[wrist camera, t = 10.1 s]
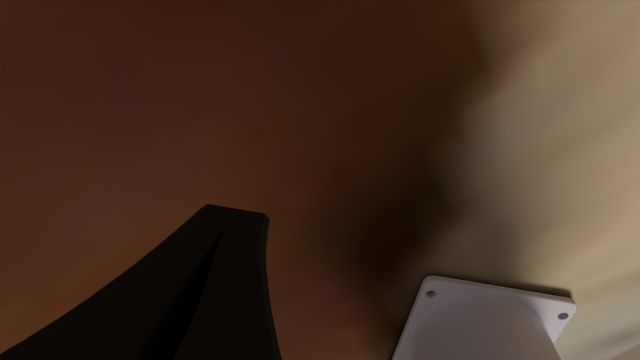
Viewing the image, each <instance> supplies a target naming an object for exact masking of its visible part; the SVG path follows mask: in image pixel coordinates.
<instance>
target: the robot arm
mask: <svg viewBox="0 0 640 360" xmlns="http://www.w3.org/2000/svg"><path fill="white" fill-rule="evenodd" d="M269 221H270V219H269V218H268V217H267V215H266V214H264V213H258V212H252V211H246V210H240V209H234V208H228V207H222V206H216V205H210V204H207V205H205V206H203V207H202V208H201V209H200V210H198V211H197V212H196V213H195V214H194V215H193V216H192V217H191V218H189V219H188V220H187V221H186V222H185V223H184V224H183V225H181V226H180V227H179V228H178V229H177V230H176V231H175V232H173V233H172V234H171V235H170V236H169V237H167V238H166V239H165V240H164V241H163V242H162V243H160V244H159V245H158V246H157V247H155V248H154V249H153V250H152V251H150V252H149V253H148V254H147V255H145V256H144V257H143V258H142V259H140V260H139V261H138V262H137V263H135V264H134V265H133V266H132V267H130V268H129V269H128V270H126V271H125V272H124V273H122V274H121V275H120V276H118V277H117V278H115V279H114V280H113V281H111V282H110V283H109V284H107V285H106V286H104V287H103V288H102V289H100V290H99V291H98V292H96V293H95V294H93V295H92V296H91V297H89V298H88V299H86V300H85V301H84V302H82V303H81V304H79V305H78V306H76V307H75V308H73V309H72V310H70V311H69V312H67V313H66V314H64V315H63V316H61V317H60V318H58V319H57V320H55V321H53V322H52V323H50V324H49V325H47V326H46V327H44V328H42V329H41V330H39V331H38V332H36V333H34V334H33V335H31V336H30V337H28V338H26V339H25V340H23V341H21V342H20V343H18V344H16V345H15V346H13V347H11V348H10V349H8V350H6V351H4V352H3V353H1V354H0V360H282V359H281V354H280V350H279V346H278V341H277V336H276V331H275V326H274V321H273V316H272V310H271V303H270V297H269V288H268V279H267V270H266V246H267V238H268V230H269ZM428 291H433V292H428ZM577 308H578V307H577V304H576V303H575V301H574V300H573V299H571V298H567V297H561V296H555V295H549V294H543V293H537V292H531V291H525V290H519V289H513V288H507V287H501V286H495V285H489V284H483V283H477V282H471V281H465V280H459V279H453V278H447V277H441V276H428V277H426V278H425V279H424V280H423V282H422V285H421V287H420V290H419V292H418V295H417V297H416V300H415V302H414V305H413V307H412V310H411V312H410V315H409V317H408V320H407V322H406V325H405V327H404V330H403V332H402V335H401V337H400V340H399V342H398V345H397V347H396V350H395V353H394V355H393V358H392V360H561V359H560V357H559V355H558V353H557V351H556V349H555V347H554V344H553V343H554V342H555V341H556V339H557V338H558V336H559V335H560V333H561V332H562V331H563V329H564V328H565V326H566V325H567V323H568V322H569V321H570V319H571V318H572V316H573V315H574V314H575V312H576V311H577Z"/></svg>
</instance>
